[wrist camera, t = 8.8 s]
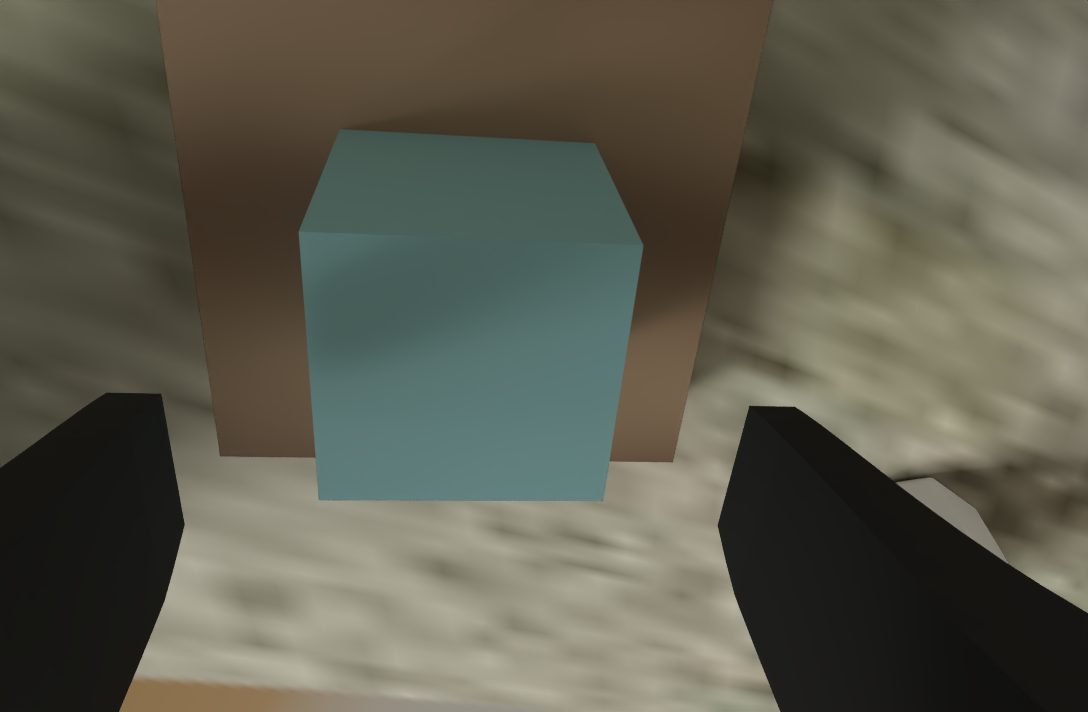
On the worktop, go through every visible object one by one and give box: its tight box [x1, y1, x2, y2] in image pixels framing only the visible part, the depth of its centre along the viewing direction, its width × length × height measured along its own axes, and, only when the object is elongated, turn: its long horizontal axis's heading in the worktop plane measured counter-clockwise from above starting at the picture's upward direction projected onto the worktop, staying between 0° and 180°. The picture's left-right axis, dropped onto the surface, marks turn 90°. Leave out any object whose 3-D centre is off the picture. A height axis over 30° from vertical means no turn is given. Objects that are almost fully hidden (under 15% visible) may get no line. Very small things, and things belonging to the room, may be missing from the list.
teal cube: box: [299, 129, 643, 501], centre depth 14 cm, size 4×4×4 cm
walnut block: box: [156, 0, 773, 462], centre depth 17 cm, size 10×10×2 cm
